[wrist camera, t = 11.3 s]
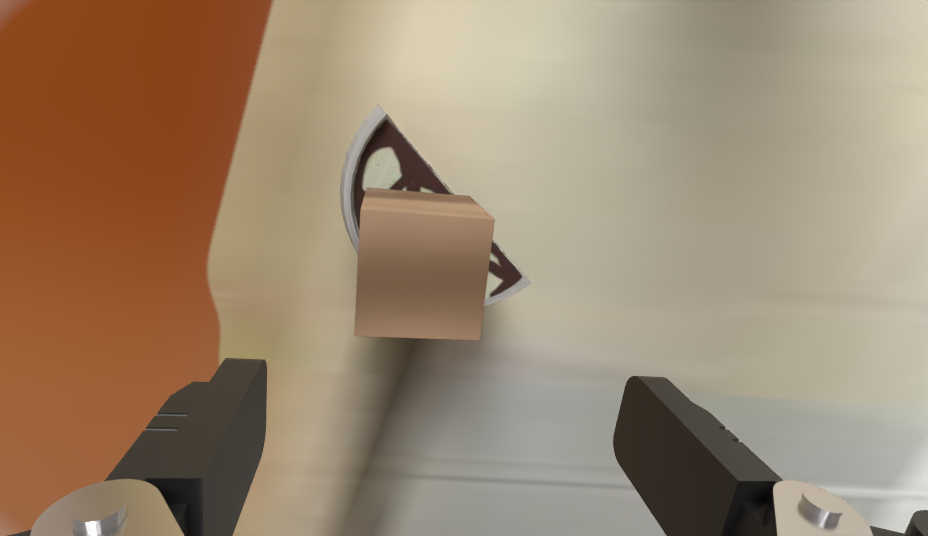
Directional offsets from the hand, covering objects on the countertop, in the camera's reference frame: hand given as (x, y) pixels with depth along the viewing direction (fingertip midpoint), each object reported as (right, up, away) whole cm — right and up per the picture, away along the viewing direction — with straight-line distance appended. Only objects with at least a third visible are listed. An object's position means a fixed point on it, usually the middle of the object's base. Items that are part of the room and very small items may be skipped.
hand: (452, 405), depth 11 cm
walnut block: (-2, +4, +14) cm, 15 cm away
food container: (-4, +7, +24) cm, 25 cm away
